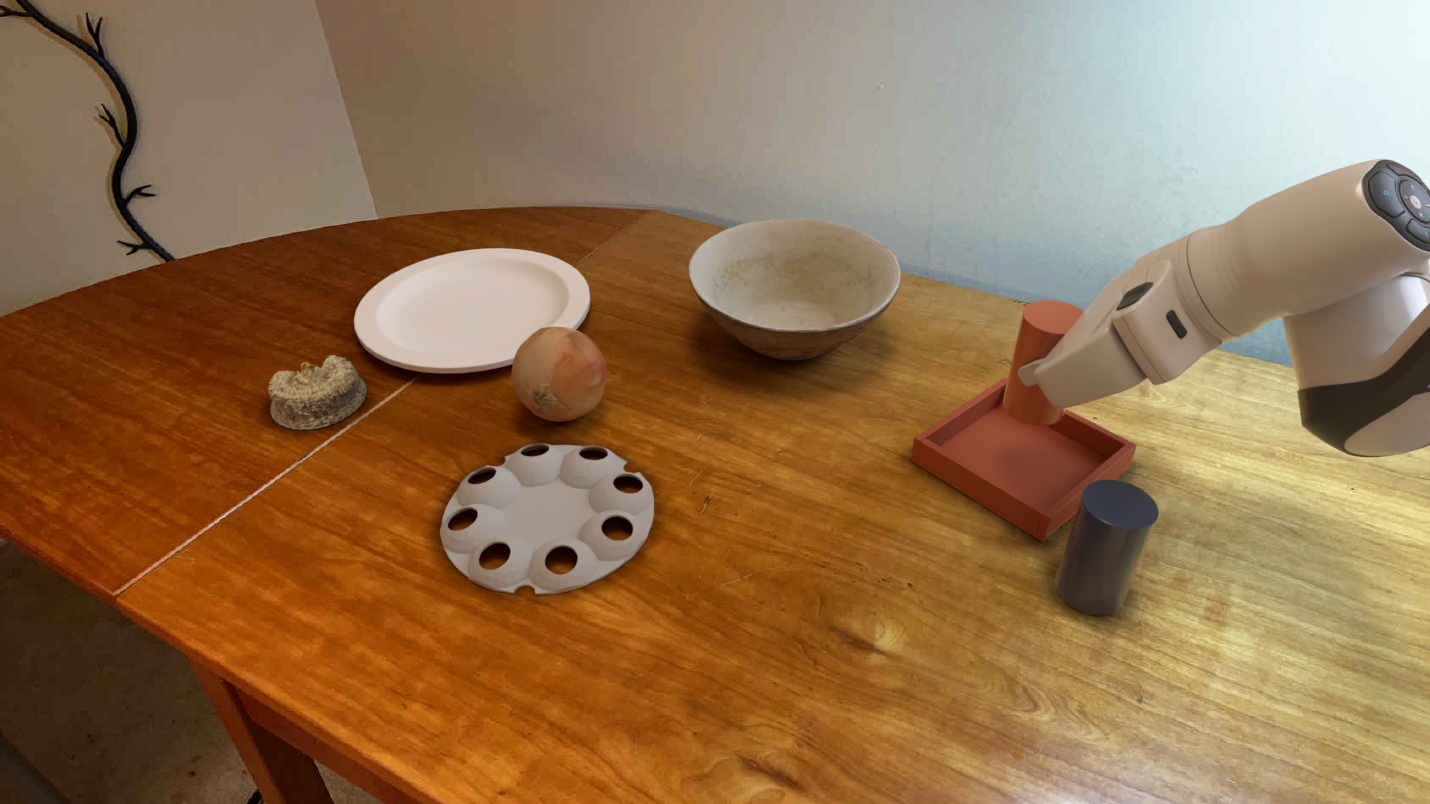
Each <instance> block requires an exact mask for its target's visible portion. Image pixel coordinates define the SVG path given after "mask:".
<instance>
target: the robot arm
mask: <svg viewBox="0 0 1430 804" xmlns="http://www.w3.org/2000/svg"><path fill="white" fill-rule="evenodd" d="M1429 260H1430V188H1429V187H1428V186H1427V184H1426V183H1425V182H1424V181H1423V180H1422V178H1421V177H1420V175H1418V174H1417V173H1416V172H1414V171H1413V170H1412V169H1410V167H1409V168H1408V167H1407V166H1405V165H1403V164H1402V163H1399V162H1397V161H1395V160H1393V159H1388V158H1376V159H1371V160H1366V161H1362V162H1357V163H1354V164H1350V165H1347V166H1344V167H1340V168H1337V169H1334V170H1331V171H1328V172H1324V173H1321V174H1319V175H1317V176H1314V177H1312V178H1309V179H1306V180H1304V181H1301V182H1299V183H1296V184H1294V185H1292V186H1289V187H1287V188H1285V189H1283V190H1280V191H1277V192H1275V193H1273V194H1271V195H1269V196H1267V197H1264V198H1262V199H1260V200H1258V201H1256V202H1254V203H1252V204H1251V205H1249V206H1247V207H1246V208H1245V209H1244V210H1243V211H1241V212H1240V213H1239V214H1238V215H1237V216H1235V217H1234V218H1231V219H1230V220H1228V221H1226V222H1223V223H1220V224H1217V225H1216V224H1215V225H1209V226H1205V227H1201V228H1199V229H1197V230H1194V231H1192V232H1190V233H1188V234H1185V235H1183V236H1181V237H1179V238H1178V239H1175V240H1173V241H1171V242H1168V243H1166V244H1164V245H1162V246H1160V247H1158V248H1156V249H1154V250H1152V251H1149V252H1147V253H1145V254H1143V255H1141V256H1139V257H1138V258H1137V259H1136V261H1135V262H1134V264H1133V267H1131V268H1128V269H1127V270H1124V271H1122V272H1121V273H1118V274H1117V275H1116V276H1114V277H1113V278H1112V279H1110V280H1108V282H1107V284H1106V285H1105V286H1104V287H1103V288H1102V289H1101V291H1100V292H1099V293H1098V295H1097V296H1096V297H1095V298H1094V299H1093V300H1092V301H1091V303H1090V304H1089V305H1088V306H1087V307H1086V308H1085V309H1084V310H1083V311H1084V312H1083V313H1082V315H1081V316H1080V317H1079V318H1078V319H1077V321H1076V322H1075V323H1074V324H1073V325H1072V327H1071V328H1070V329H1069V330H1068V331H1067V333H1066V334H1065V335H1064V336H1063V337H1062V338H1061V340H1060V341H1059V342H1058V343H1057V344H1056V346H1055V347H1054V348H1053V349H1052V350H1051V352H1050V353H1049V354H1048V355H1047V356H1046V357H1045V358H1043V359H1039V358H1038V357H1037V358H1035V359H1032V360H1030V361H1027V362H1025V363H1024V364H1023V365H1022V367H1021V368H1020V369H1019V370H1018V371H1017V375H1018V376H1019V378H1020V379H1021V381H1022V382H1023V384H1024V385H1025V386H1032V385H1035V384H1038V386H1039V387H1040V389H1041V390H1042V392H1043V393H1044V395H1045V396H1046V398H1047V399H1048V401H1049V402H1050V403H1051V404H1052V405H1053V406H1055V407H1060V408H1066V409H1068V408H1072V407H1077V406H1080V405H1085V404H1087V403H1091V402H1093V401H1094V402H1095V401H1098V400H1101V399H1105V398H1108V397H1110V396H1114V395H1117V394H1119V393H1123V392H1126V391H1128V390H1130V389H1133V388H1135V387H1137V386H1138V385H1141V384H1142V383H1144V382H1145V381H1147V379H1148V380H1149V382H1150V383H1151V384H1152V385H1153V386H1159V385H1163V384H1166V383H1170V382H1173V381H1174V380H1176V379H1178V378H1179V377H1180V376H1182V374H1183V373H1185V372H1186V371H1187V370H1188V369H1189V368H1190V367H1192V366H1193V365H1194V364H1195V363H1197V361H1199V360H1200V359H1202V358H1203V357H1204V356H1206V355H1208V353H1210V352H1212V351H1214V350H1218V349H1219V348H1221V347H1222V346H1223V344H1227V343H1229V342H1232V341H1234V340H1237V339H1238V340H1239V339H1240V338H1244V337H1245V336H1248V335H1250V334H1253V333H1255V332H1256V331H1257V330H1259V329H1261V328H1262V327H1263V326H1264V325H1267V324H1268V323H1270V322H1272V321H1274V320H1277V319H1282V326H1283V330H1284V335H1285V340H1286V342H1287V346H1288V350H1289V355H1290V359H1291V364H1292V367H1293V372H1294V376H1295V380H1296V384H1297V389H1298V390H1297V391H1296V393H1297V400H1298V406H1299V414H1300V421H1301V426H1302V427H1303V428H1304V429H1306V431H1308V433H1310V434H1311V435H1313V436H1315V437H1316V438H1318V439H1319V440H1320V441H1322V442H1323V443H1325V444H1327V445H1328V446H1330V447H1332V448H1333V449H1336V450H1337V451H1340V452H1342V453H1344V454H1346V455H1349V456H1352V457H1358V458H1383V457H1392V456H1396V455H1397V456H1398V455H1401V454H1407V453H1411V452H1415V451H1418V450H1421V449H1423V448H1427V447H1429V446H1430V263H1429Z"/></svg>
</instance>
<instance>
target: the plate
mask: <svg viewBox="0 0 1430 804" xmlns="http://www.w3.org/2000/svg"><path fill="white" fill-rule="evenodd" d="M590 305H591V292H590V286H589V284H588V283H587V280H586V278H585V277H584V276H583V275H582V274H581V272H580V271H579V270H577V269H576V268H575V267H574V266H573V265H571V264H569V263H567V262H566V261H563V260H562V259H561V258H557V257H555V256H553V255H549V254H546V253H542V252H538V251H533V250H527V249H518V248H504V247H503V248H502V247H497V248H494V247H493V248H478V249H477V248H476V249H467V250H460V251H454V252H449V253H445V254H441V255H436V256H433V257H429V258H427V259H423V260H421V261H418V262H415V263H413V264H410V265H407V266H406V267H403V268H401V269H399V270H397V271H395V272H393V273H391V274H389V275H387V277H385V278H384V279H382V280H381V281H379V282H378V283H376V285H375V284H374V286H373V287H372V288H370V289H369V290H368V292H367V293H366V294H365V295H364V296H363V297H362V298H361V300H360V302H359V304H358V305H357V307H356V309H355V312H354V313H355V315H354V318H353V323H354V332H355V334H356V336H357V339H358V341H359V344H361V346H362V347H363V348H364V349H365V350H366V351H367V352H368V353H369V354H371V355H372V356H374V357H375V358H376V359H378V360H381V361H382V362H384V363H386V364H389V365H391V366H395V367H398V368H401V369H404V370H410V371H414V372H421V373H428V374H429V373H430V374H466V373H474V372H483V371H489V370H493V369H499V368H503V367H507V366H510V365H513V361H514V357H515V355H516V352H517V350H518V348H519V347H520V346H521V344H522V343H523V342H524V341H526V340H527V339H528V338H529V337H530V336H531V335H532V334H533V333H534V332H536V331H537V330H539V329H541V328H545V327H565V328H571V329H574V330H578V328H579V327H580V326H581V324H582V323H583V322H584V321H585V319H586V317H587V315H588V313H589V310H590Z"/></svg>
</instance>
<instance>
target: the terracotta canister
mask: <svg viewBox="0 0 1430 804" xmlns="http://www.w3.org/2000/svg"><path fill="white" fill-rule="evenodd" d="M1084 311H1085V310H1083V309H1081V308H1080V307H1078V306H1077V305H1074V304H1071V303H1069V302H1065V301H1061V300H1055V299H1043V300H1042V299H1041V300H1036V301H1035V300H1034V301H1033V302H1030V303H1028V304H1027V305H1026V306H1024V308H1023V310H1022V313H1021V317H1020V323H1019V327H1018V332H1017V335H1016V341H1015V344H1014V349H1013V353H1012V358H1011V362H1010V367H1009V370H1008V375H1007V378H1006V379H1007V384H1006V388H1005V393H1004V397H1003V407H1004V409H1005V411H1006V412H1007V413H1008V414H1009V415H1010V416H1011V417H1013V418H1014V419H1016V420H1018V421H1021V422H1023V423H1026V424H1030V425H1038V426H1045V425H1051V424H1054V423H1057V422H1058V421H1060V420H1061V419H1062V418H1063V416H1064V413H1065V410H1066V409H1067V408H1060V407H1055V406H1053V405H1052V404H1051V403H1050V402H1049V401H1048V399H1047V398H1046V396H1045V395H1044V393H1043V392H1042V390H1041V389H1040V387H1039V386H1038V384H1035V385H1032V386H1025V385H1024V384H1023V382H1022V381H1021V379H1020V378H1019V376H1018V375H1017V371H1018V370H1019V369H1020V368H1021V367H1022V365H1023V364H1024V363H1025V362H1027V361H1030V360H1032V359H1035V358H1037V357H1038V358H1039V359H1043V358H1045V357H1046V356H1047V355H1048V354H1049V353H1050V352H1051V350H1052V349H1053V348H1054V347H1055V346H1056V344H1057V343H1058V342H1059V341H1060V340H1061V338H1062V337H1063V336H1064V335H1065V334H1066V333H1067V331H1068V330H1069V329H1070V328H1071V327H1072V325H1073V324H1074V323H1075V322H1076V321H1077V319H1078V318H1079V317H1080V316H1081V315H1082V313H1083V312H1084Z"/></svg>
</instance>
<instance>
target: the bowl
mask: <svg viewBox="0 0 1430 804" xmlns="http://www.w3.org/2000/svg"><path fill="white" fill-rule="evenodd" d="M900 267H901V266H900V263H899V261H898V258H897V257H896V255H895V254H893V252H891V250H890V248H889V247H887V246H885V245H884V244H883V243H881V241H879V240H877V239H876V238H874V237H873V236H871V235H869V234H866V233H865V232H863V231H860V230H859V229H857V228H854V227H853V226H850V225H846V224H843V223H837V222H832V221H825V220H820V219H812V218H776V219H766V220H760V221H752V222H745V223H741V224H738V225H735V226H732V227H728V228H726V229H723V230H721V231H720V232H718V233H716V234H714V235H713V236H710V237H709V238H708V239H706V240H705V241H704V242H702V243H701V244H700V245H699V246H698V247H697V249H695V251H694V252H693V254H692V256H691V258H690V259H689V262H688V278H689V281H690V284H691V287H692V289H693V291H694V293H695V296H696V298H697V299H698V301H699V303H701V305H702V306H703V307H704V309H705V310H706V311H707V312H708V313H709V315H710V316H711V317H712V318H713V320H714V321H715V322H716V323H717V324H718V325H719V326H720V327H721V328H723V330H724V331H726V332H727V333H728V334H729V335H730V336H732V337H733V338H734V339H735V340H737V341H738V342H739V343H740V344H742V345H743V346H745V347H747V348H749V349H751V350H752V351H755V352H756V353H758V354H759V355H763V356H765V357H769V358H773V359H777V360H781V361H792V362H793V361H795V362H796V361H804V360H810V359H814V358H818V357H820V356H823V355H825V354H827V353H830V352H832V351H834V350H836V349H838V348H840V347H842V346H843V345H845V344H846V343H848V342H849V341H851V340H853V339H854V338H856V337H857V336H858V335H860V334H861V333H863V332H864V331H865V330H867V328H869V327H870V326H871V325H872V324H874V322H876V321H877V319H878V318H880V317H881V316H882V315H883V314H884V312H885V311H886V310H887V309H888V308H889V307H890V305H891V303H892V302H893V300H894V299H895V297H896V296H897V293H898V291H899V289H900V286H901V279H902V277H901V276H902V274H901V273H902V272H901V268H900Z"/></svg>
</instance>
